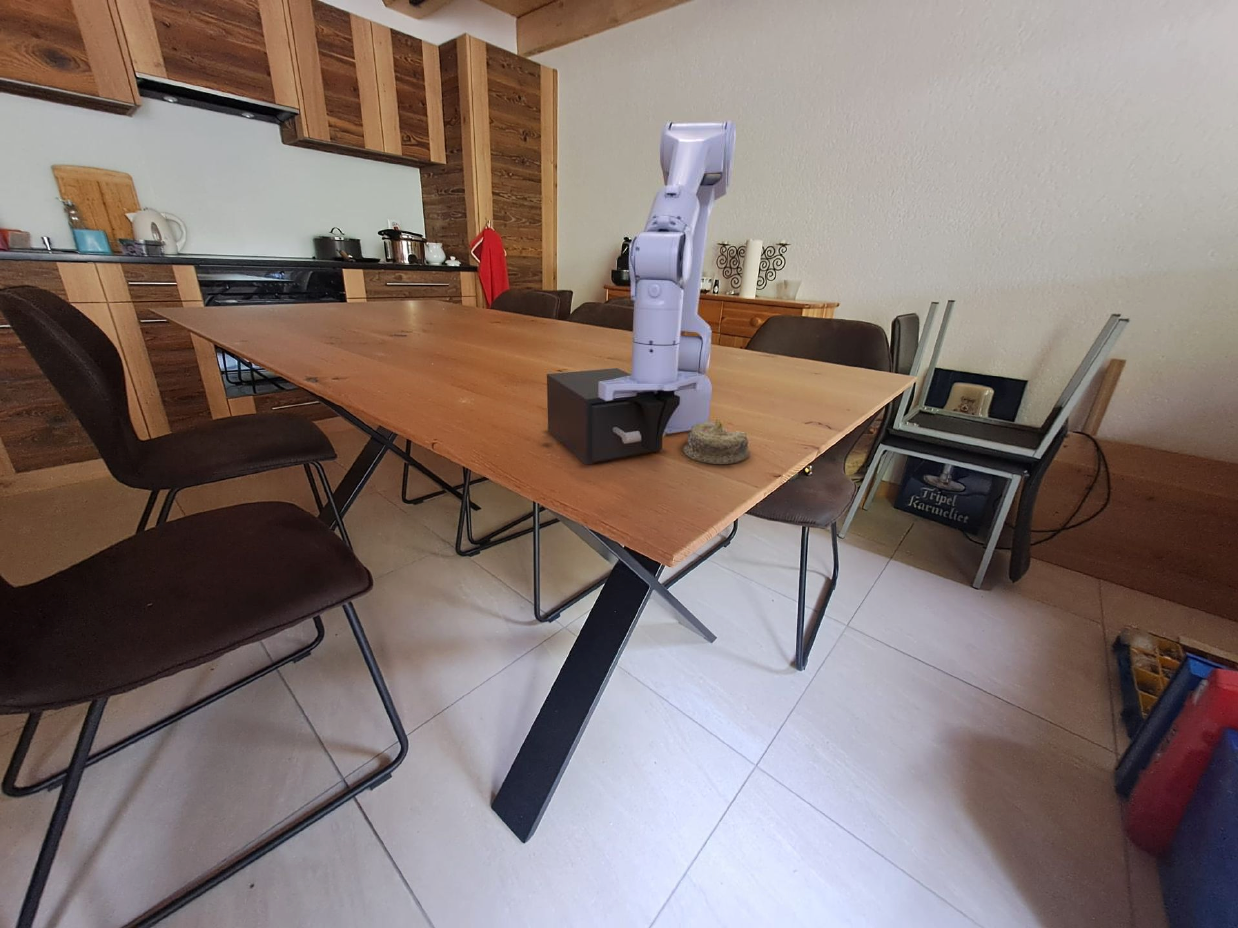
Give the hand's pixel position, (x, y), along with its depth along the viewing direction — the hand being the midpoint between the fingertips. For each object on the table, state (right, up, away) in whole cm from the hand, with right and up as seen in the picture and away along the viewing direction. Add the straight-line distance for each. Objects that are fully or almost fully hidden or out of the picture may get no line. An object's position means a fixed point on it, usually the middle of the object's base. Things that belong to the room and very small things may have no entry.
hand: (649, 447), depth 62 cm
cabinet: (-7, +1, +13) cm, 14 cm away
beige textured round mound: (+11, -1, +10) cm, 15 cm away
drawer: (-5, +1, +9) cm, 10 cm away
